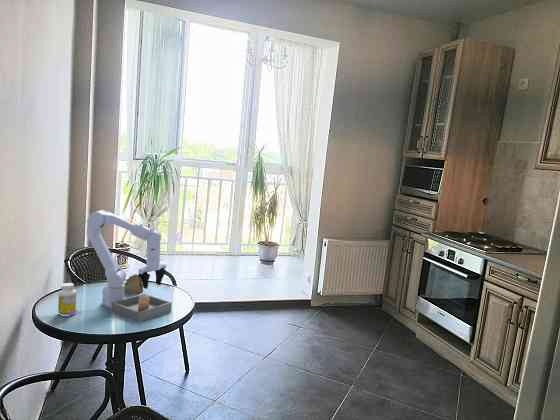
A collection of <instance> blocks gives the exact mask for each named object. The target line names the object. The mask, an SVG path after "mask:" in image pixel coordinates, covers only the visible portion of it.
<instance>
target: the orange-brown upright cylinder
mask: <svg viewBox="0 0 560 420" xmlns="http://www.w3.org/2000/svg"><path fill="white" fill-rule="evenodd" d="M139 295H140V296H139V302H138V310H139V311H144V310H147V309H149V300H150V296H149V295H150V294H148V295H141V294H139Z"/></svg>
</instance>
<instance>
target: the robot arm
mask: <svg viewBox="0 0 560 420" xmlns="http://www.w3.org/2000/svg"><path fill="white" fill-rule="evenodd" d="M86 223H87V225H86V227H87V228H86V235H87V237H88V240H89V241H90V243H91V245H92V247H93V249H94V250H95V252H96V255H97V257H98V258H99V260H100V263H101V264H102V266H103V268H104V275H105V277H106V283H107V284H106V285H105V286H104V287H103V290H102V301H101V302H100V305H102V306H105V307H107V308H109V309H111V303H112V302H115V301H119V300H122V299H125V294H124V291H125V282H124V281H125V280H126V278H127V274H126V272H125V271H124V270H123V269H121V266H120V265H118V264H117V263H116V261H115V258H114V257H113V255H112V253H111V251H110V249H109V247H108V246H107V245H108V244H107V243H106V241H105V239H104V238H103V235H102V233H101V232H102V230H103V227H104V226H107V225H115V226H118V227H120V228H122V229H124V230H128V231H129V232H130V233H131V235H132V236H134V237H137V238H139V239H140V240H143V241H146V242H147V247H146V248H147V249H146V265H145V266H144V267H141V268H138V275H139V276H140V278H141V281H142V285H143V289H147V290H148V288H149V279H150V277H151V274H149V273H150V272H155V285H157V286H161V284H162V280H163V278H164V276H165V275H166V273H167V270H166V269H167V264H165V263H162V264H161V262H160V261H161V240H162V234H161V232H160V231H159V230H155V229H153V228H149V227H148V226H145V225H144V224H143V223H142V222H140V223H132V222H130V221H128V220H126V219H124V218H122V217H120V216H118V215H116V214H114V213H112V212H111V211H107V210H104V209H99V210H97V211H95V212H92V213H90V215H89V216H88V218H87V220H86Z"/></svg>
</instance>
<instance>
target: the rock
mask: <svg viewBox="0 0 560 420" xmlns="http://www.w3.org/2000/svg"><path fill="white" fill-rule="evenodd" d="M124 284H125V291H124V295H129V294H142V293H143V292H144V288H143V284H142V281H141V278H140V276H139V274H132V275H131V276H128V278H127V279H126V281H125V282H124Z"/></svg>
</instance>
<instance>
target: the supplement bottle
mask: <svg viewBox="0 0 560 420" xmlns="http://www.w3.org/2000/svg"><path fill="white" fill-rule="evenodd" d="M74 288H75V284H74V283H72V282H65V283H61V290H59V292H58V304H57V305H58V306H57V307H58V308H57V312H58V313H60V314H62V315H72V316H73V314H74V315H75V314H76V313H77V290H76V289H74ZM58 313H57V314H58Z"/></svg>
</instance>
